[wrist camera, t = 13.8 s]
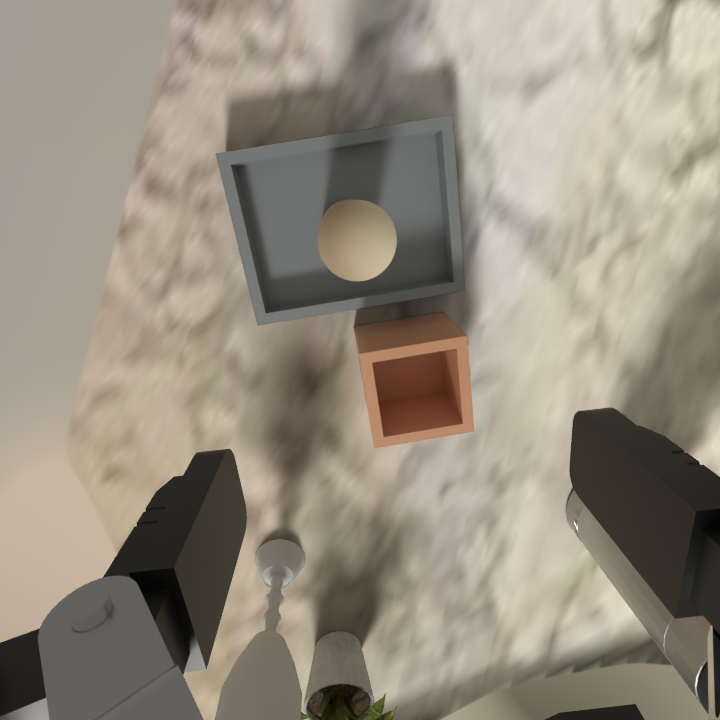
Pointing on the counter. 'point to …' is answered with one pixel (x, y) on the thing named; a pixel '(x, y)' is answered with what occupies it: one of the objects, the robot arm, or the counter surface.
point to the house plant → (341, 682)
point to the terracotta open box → (415, 378)
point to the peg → (356, 239)
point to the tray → (335, 183)
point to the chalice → (267, 649)
